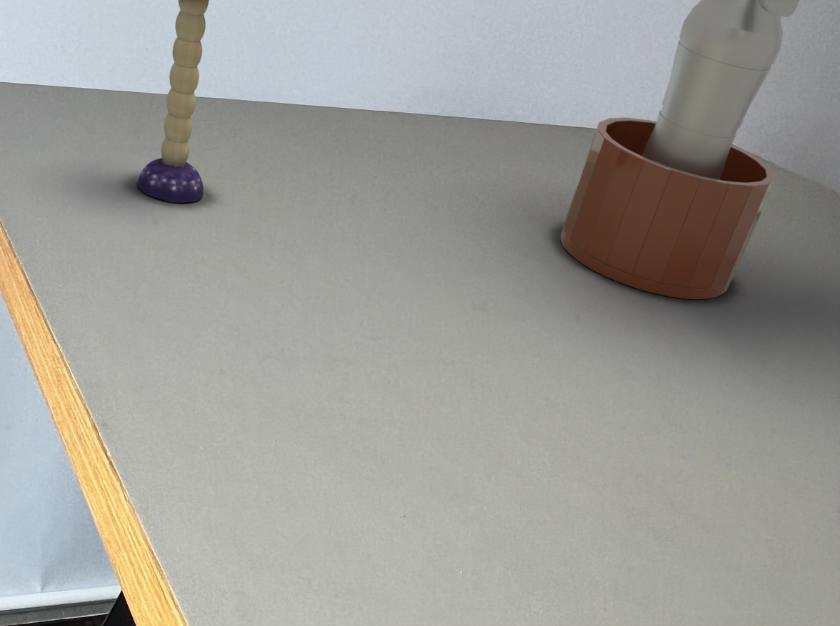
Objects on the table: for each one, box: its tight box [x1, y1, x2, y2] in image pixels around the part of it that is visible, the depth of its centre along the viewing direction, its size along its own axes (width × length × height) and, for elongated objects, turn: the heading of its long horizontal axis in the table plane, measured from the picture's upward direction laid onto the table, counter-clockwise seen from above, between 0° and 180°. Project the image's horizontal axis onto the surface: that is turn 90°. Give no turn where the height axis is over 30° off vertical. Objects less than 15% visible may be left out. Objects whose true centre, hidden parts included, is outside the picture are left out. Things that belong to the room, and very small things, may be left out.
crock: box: [560, 117, 776, 300], centre depth 86 cm, size 12×12×8 cm
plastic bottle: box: [642, 0, 784, 180], centre depth 82 cm, size 6×7×20 cm
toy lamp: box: [137, 0, 210, 203], centre depth 75 cm, size 5×5×17 cm
